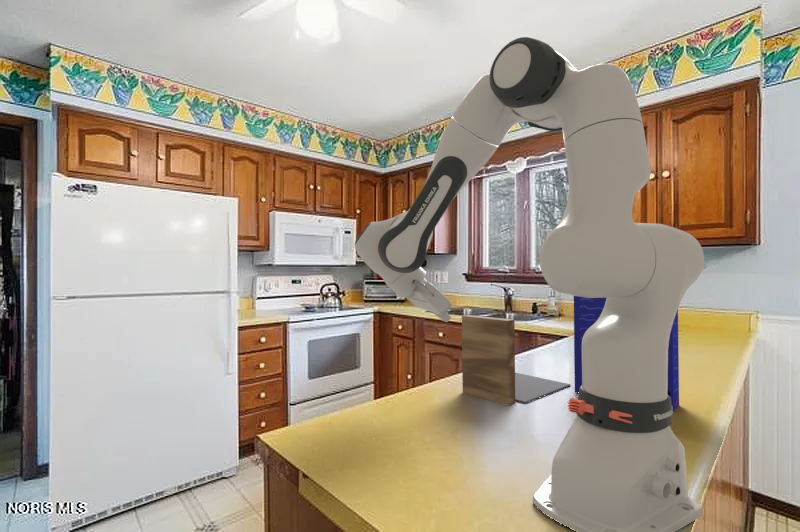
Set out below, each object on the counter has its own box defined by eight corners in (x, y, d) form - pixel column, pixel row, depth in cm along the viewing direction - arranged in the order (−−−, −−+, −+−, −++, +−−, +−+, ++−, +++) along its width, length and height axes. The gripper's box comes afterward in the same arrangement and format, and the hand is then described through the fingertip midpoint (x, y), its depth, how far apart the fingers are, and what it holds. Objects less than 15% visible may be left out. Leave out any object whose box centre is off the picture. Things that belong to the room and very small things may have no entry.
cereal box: (679, 405, 97) (677, 276, 97) (673, 412, 93) (671, 277, 93) (583, 387, 112) (582, 276, 112) (574, 392, 108) (573, 276, 108)
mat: (525, 403, 99) (525, 401, 99) (466, 387, 113) (466, 385, 113) (570, 386, 113) (570, 384, 113) (513, 373, 127) (513, 372, 127)
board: (508, 405, 98) (507, 320, 98) (462, 392, 109) (461, 315, 109) (515, 402, 100) (514, 319, 100) (470, 390, 111) (469, 315, 111)
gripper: (430, 271, 90) (473, 314, 92) (406, 270, 110) (442, 306, 112) (410, 292, 89) (454, 335, 91) (390, 287, 109) (426, 323, 111)
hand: (447, 319), depth 102 cm, fingers closed
